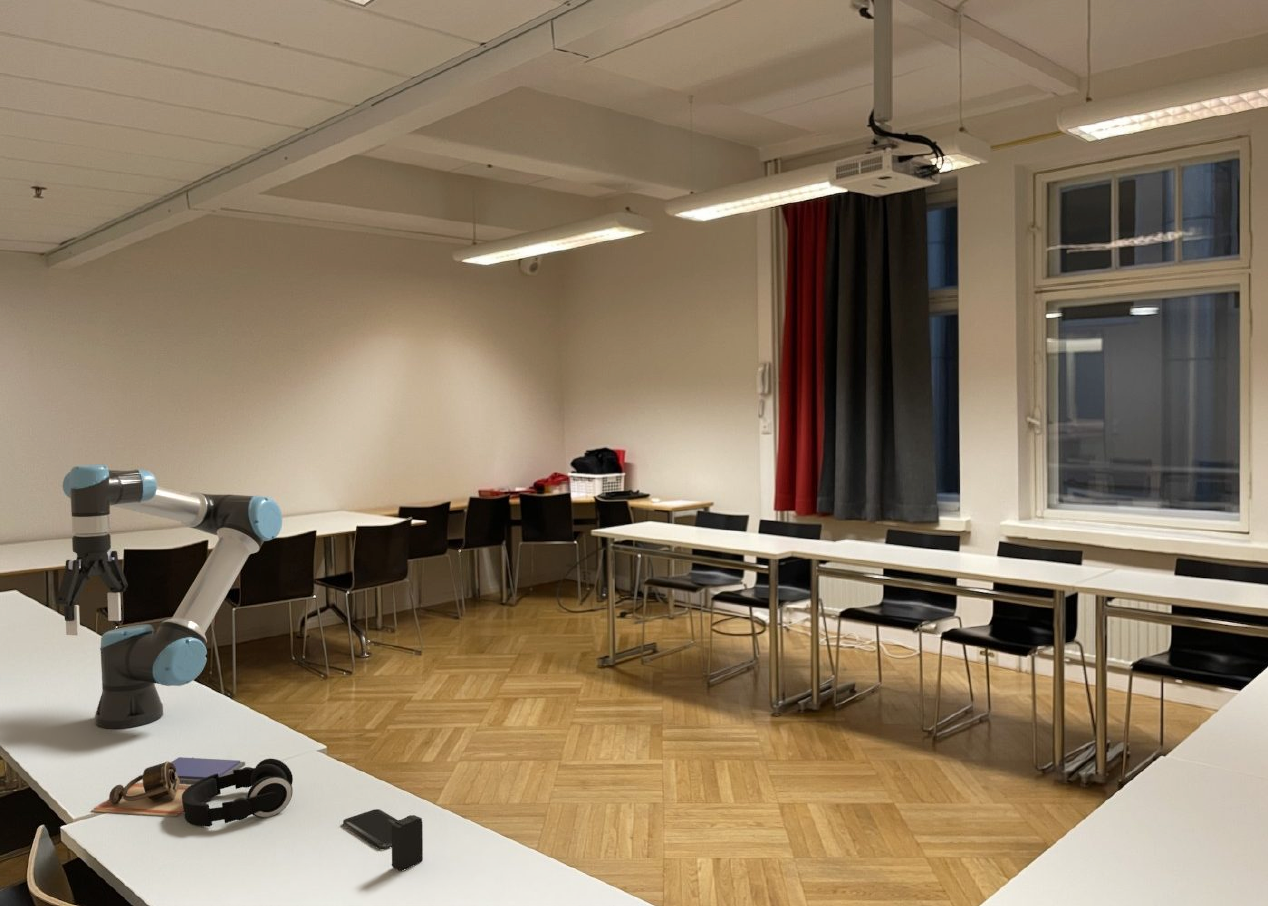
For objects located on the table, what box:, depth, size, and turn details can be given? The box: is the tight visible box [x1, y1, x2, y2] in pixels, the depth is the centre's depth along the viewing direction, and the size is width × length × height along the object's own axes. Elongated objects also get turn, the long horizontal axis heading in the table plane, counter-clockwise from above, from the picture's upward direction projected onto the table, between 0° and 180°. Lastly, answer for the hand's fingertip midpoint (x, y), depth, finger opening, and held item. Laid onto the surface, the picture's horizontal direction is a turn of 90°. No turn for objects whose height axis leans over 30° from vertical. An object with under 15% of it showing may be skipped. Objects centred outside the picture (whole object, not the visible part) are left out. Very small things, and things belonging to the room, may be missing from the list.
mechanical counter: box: [108, 761, 181, 804], centre depth 194 cm, size 7×13×10 cm
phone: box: [342, 808, 399, 850], centre depth 180 cm, size 8×1×15 cm
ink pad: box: [170, 756, 246, 784], centre depth 208 cm, size 11×16×1 cm
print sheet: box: [90, 781, 191, 818], centre depth 194 cm, size 14×18×1 cm
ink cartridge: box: [391, 814, 424, 872], centre depth 167 cm, size 5×2×8 cm, turn 141°
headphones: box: [182, 758, 294, 828], centre depth 190 cm, size 18×8×20 cm
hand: (94, 627), depth 218 cm, fingers open, 13 cm apart
